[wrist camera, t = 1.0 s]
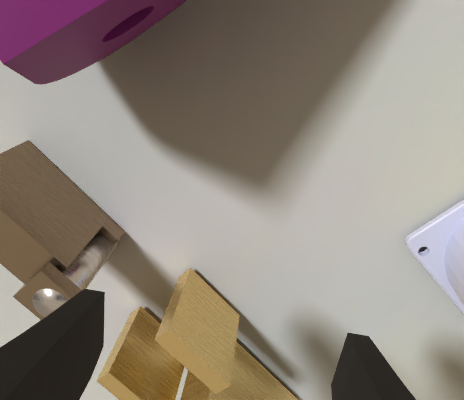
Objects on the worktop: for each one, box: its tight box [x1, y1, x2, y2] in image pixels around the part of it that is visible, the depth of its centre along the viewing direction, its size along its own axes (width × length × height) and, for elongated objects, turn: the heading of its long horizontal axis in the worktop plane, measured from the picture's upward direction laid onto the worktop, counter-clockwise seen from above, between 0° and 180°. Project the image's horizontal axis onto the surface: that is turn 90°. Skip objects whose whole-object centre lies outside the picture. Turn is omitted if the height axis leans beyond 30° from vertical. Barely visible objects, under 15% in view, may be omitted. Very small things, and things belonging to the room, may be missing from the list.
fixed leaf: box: [0, 140, 125, 320], centre depth 20 cm, size 7×2×6 cm, turn 42°
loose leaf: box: [97, 268, 298, 400], centre depth 23 cm, size 11×5×5 cm, turn 42°
